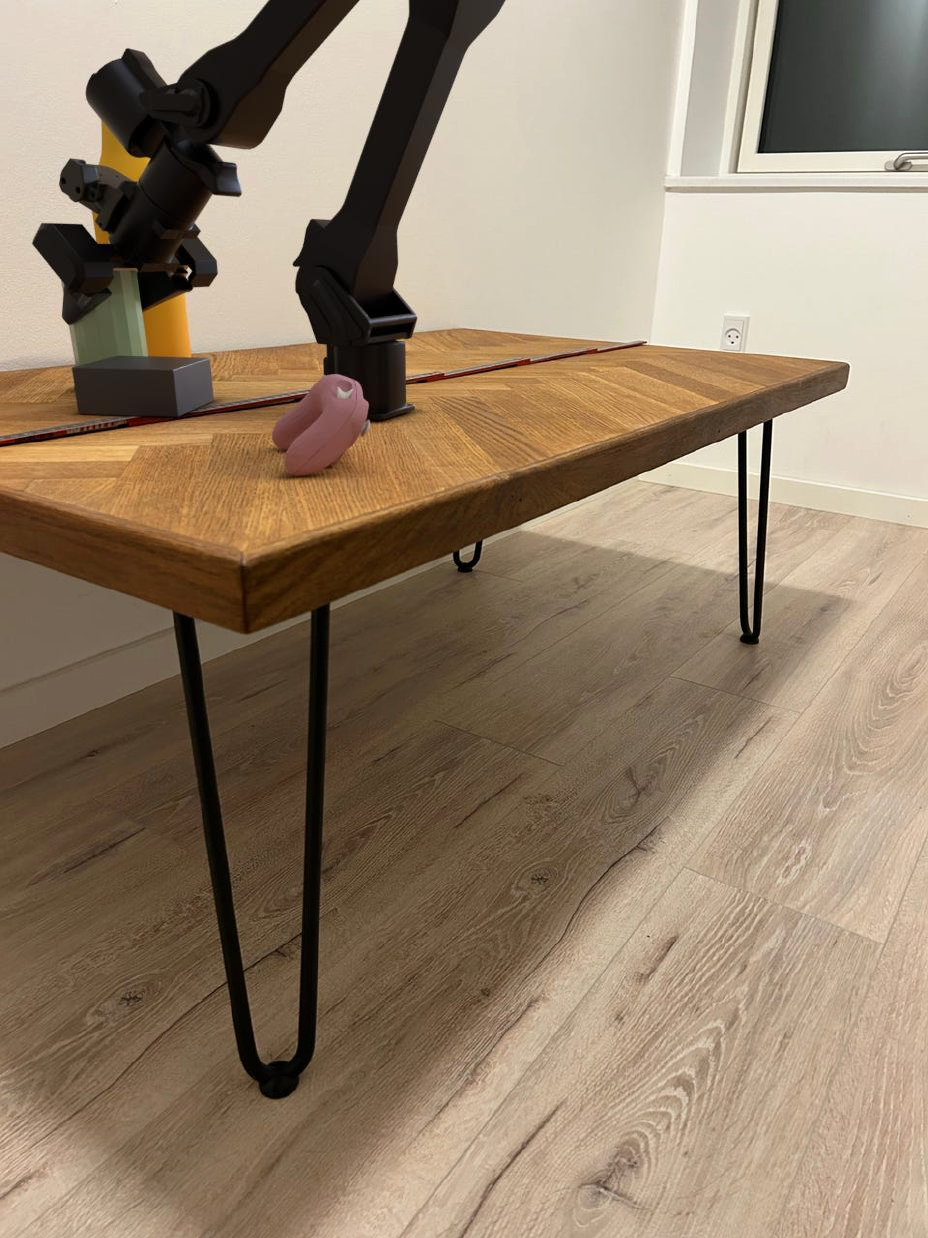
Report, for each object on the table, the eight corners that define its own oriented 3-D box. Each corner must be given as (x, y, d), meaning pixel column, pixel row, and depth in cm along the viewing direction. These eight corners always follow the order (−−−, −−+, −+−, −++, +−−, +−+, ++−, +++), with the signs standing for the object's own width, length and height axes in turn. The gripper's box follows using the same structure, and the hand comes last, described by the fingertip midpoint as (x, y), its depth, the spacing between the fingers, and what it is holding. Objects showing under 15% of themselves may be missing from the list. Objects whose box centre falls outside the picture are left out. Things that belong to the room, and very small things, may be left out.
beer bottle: (95, 367, 108) (56, 87, 97) (157, 360, 115) (127, 98, 104) (147, 374, 104) (113, 81, 93) (208, 365, 111) (183, 93, 100)
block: (214, 400, 87) (210, 357, 86) (178, 417, 79) (173, 369, 77) (123, 398, 88) (117, 355, 86) (78, 414, 80) (71, 367, 78)
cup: (166, 384, 95) (148, 249, 90) (116, 395, 89) (93, 252, 84) (117, 379, 98) (96, 249, 93) (64, 390, 92) (40, 251, 87)
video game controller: (344, 498, 60) (389, 400, 59) (280, 471, 58) (325, 369, 57) (322, 465, 69) (361, 380, 68) (266, 441, 67) (304, 352, 66)
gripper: (184, 139, 91) (114, 256, 99) (29, 116, 75) (-38, 256, 84) (254, 226, 91) (178, 335, 99) (113, 221, 75) (38, 351, 84)
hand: (95, 318), depth 91 cm, fingers closed on cup, 7 cm apart
